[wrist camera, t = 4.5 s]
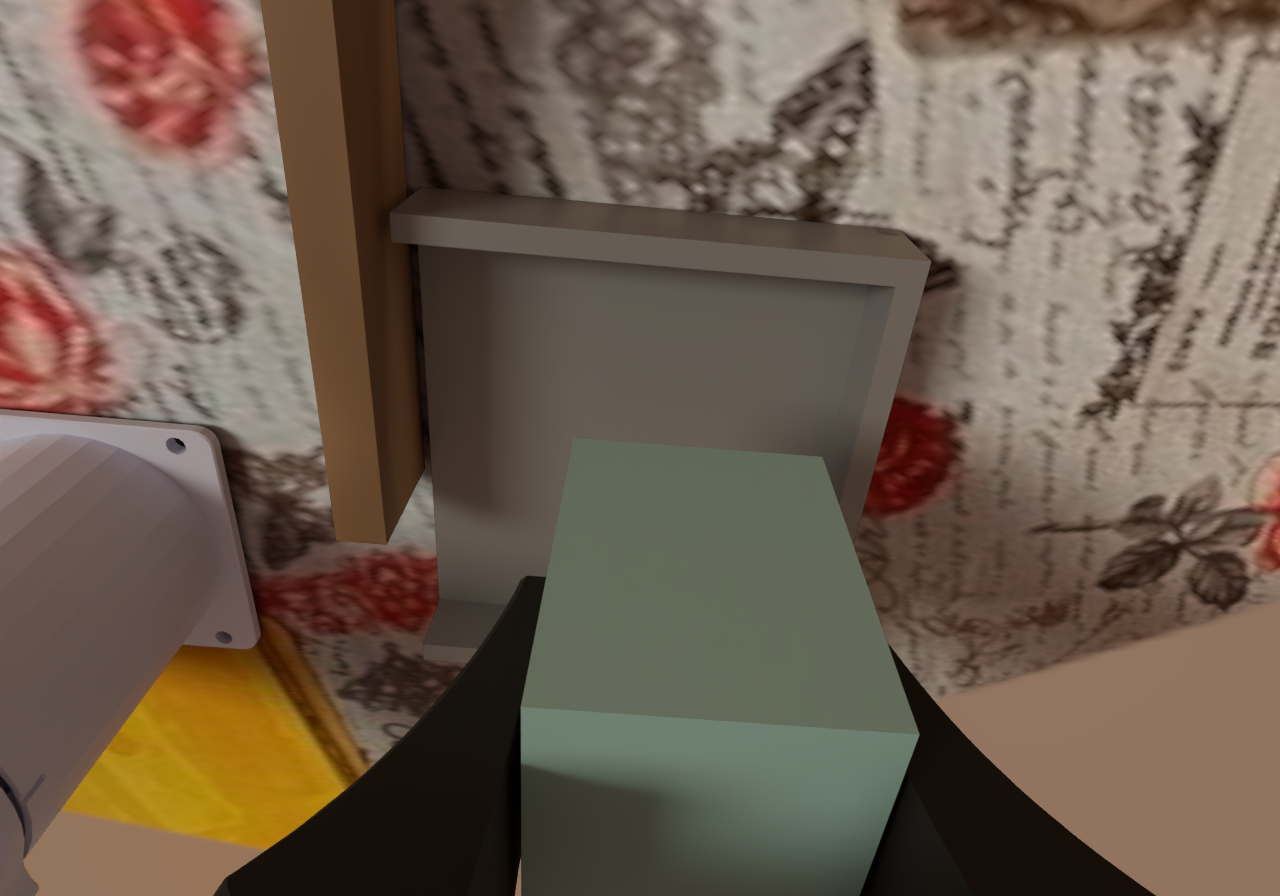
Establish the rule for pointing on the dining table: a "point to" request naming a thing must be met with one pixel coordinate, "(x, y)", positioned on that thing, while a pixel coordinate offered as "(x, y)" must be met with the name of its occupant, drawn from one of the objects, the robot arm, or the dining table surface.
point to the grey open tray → (634, 360)
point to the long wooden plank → (351, 248)
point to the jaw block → (706, 684)
